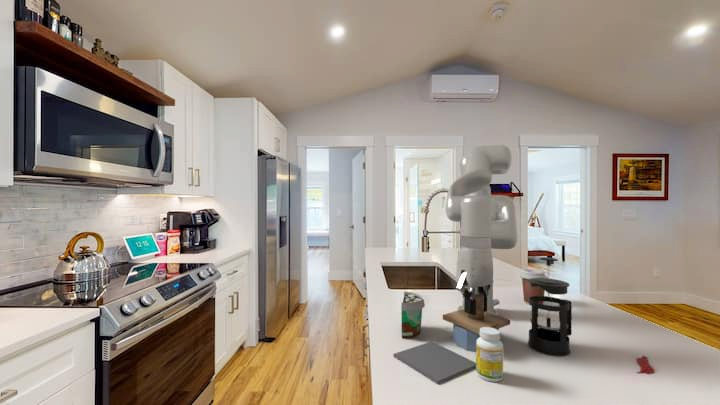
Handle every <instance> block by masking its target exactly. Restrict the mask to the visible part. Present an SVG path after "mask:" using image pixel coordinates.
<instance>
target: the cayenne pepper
mask: <svg viewBox="0 0 720 405" xmlns="http://www.w3.org/2000/svg"><path fill="white" fill-rule="evenodd" d="M636 363H637V365H638V366H639V367H640V371H637V372H636V374H646V375H651V374H653V373H655V369H654V368H653V366H651V365H650V363H649V359H648V357H647V356H645V355H642V356H641V357H637V358H636Z"/></svg>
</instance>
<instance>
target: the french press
mask: <svg viewBox="0 0 720 405" xmlns="http://www.w3.org/2000/svg"><path fill="white" fill-rule="evenodd" d="M539 260H540V261H546V266H547V277H548V278H531V279H529V282H530V283H531V287H536V286H540V287H541V288H542V289H544V290H545V292H547V296H546V295H544V296H532V297H529V306H531V318H529V321H530V324H531V328H530V329H529V330H528V340H527V346H528V347H529V348H531V349H532V350H534V351H536V352H538V353H540V354H543V355H547V356H553V357H567V356H569V355H571V348H570V337H569V336H572V328H573V327H572V318H573V317H572V311H573V310H572V301H571V300H568V299H562V298H559V297H553V296H550V295H558V296H559V295H567V294H568V287H570V283H569V282H567V281H565V280H560V279H556V278H555V279H554V278H550V267H551V264H552V262H558V261H559V259H557V258H556V257H555V258H553V257H545V256H544V257H543V256H542V257H540V258H539ZM538 301H544V302H547V304H539V303H538ZM550 303H553V304H557V305H550ZM558 304H559V305H558ZM539 310H542V311H547V317H545V316H539ZM550 312H553V313H554V312H555V313H557V312H558V319H557V318H551V317H550Z"/></svg>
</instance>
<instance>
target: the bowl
mask: <svg viewBox="0 0 720 405" xmlns="http://www.w3.org/2000/svg"><path fill="white" fill-rule="evenodd" d="M452 328H453V329H452V331H453V332H452V336H453V337H452V338H453V340H452V342H454V344H455V345H456V346H457V347H459V348H461V349H463V350H466V351H469V352H473V353H476V341H477V339H478V338H479V337H480V334H478V333H475V332H473V331H470V330H468V329H465V328H463V327H460V326H458V325H455V324H453V323H452ZM499 329H500V328H499ZM499 329H497V330H498V331H499V332H500V330H499Z"/></svg>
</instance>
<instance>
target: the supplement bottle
mask: <svg viewBox="0 0 720 405" xmlns="http://www.w3.org/2000/svg"><path fill="white" fill-rule="evenodd" d="M500 339H501V332H500V330H499V331H498V330H497V329H494V328H490V327H482V328H480V337H479V338H478V339H477V341H476V352H475V355H476V356H475V363H476V368H475V370H476V375H477V376H478V377H479V378H480V379H482V380H484V381H487V382H491V383H498V382H500V381H502V380H503V379H504V344H503V342H502V341H501V340H500Z"/></svg>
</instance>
